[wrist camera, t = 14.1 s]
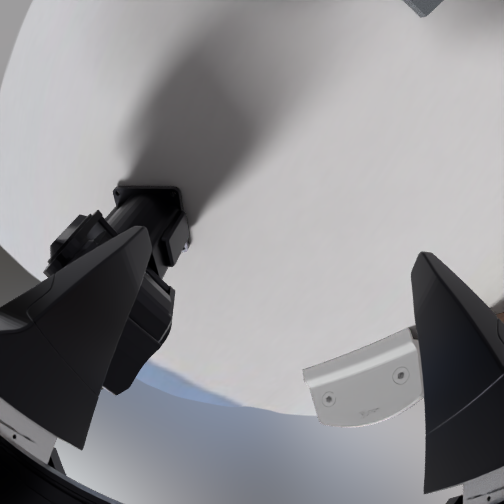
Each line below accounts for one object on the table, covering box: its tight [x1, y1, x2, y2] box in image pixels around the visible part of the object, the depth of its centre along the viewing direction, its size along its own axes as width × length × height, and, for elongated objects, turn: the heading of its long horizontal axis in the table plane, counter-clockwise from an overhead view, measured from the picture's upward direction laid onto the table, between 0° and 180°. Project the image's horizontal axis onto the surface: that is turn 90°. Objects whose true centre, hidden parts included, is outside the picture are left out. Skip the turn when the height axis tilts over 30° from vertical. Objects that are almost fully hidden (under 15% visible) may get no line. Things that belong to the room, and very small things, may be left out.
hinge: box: [302, 328, 424, 428], centre depth 33 cm, size 17×5×10 cm, turn 135°
